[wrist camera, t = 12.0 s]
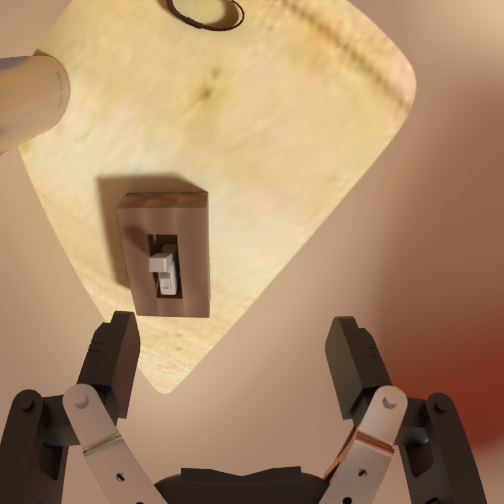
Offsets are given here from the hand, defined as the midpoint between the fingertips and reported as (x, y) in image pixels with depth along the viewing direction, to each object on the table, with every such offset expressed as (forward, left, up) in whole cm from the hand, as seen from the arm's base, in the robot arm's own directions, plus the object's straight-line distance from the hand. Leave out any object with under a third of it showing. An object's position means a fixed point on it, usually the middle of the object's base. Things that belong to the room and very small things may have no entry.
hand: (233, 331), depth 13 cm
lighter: (-7, -11, -24) cm, 27 cm away
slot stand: (-7, -11, -24) cm, 27 cm away
